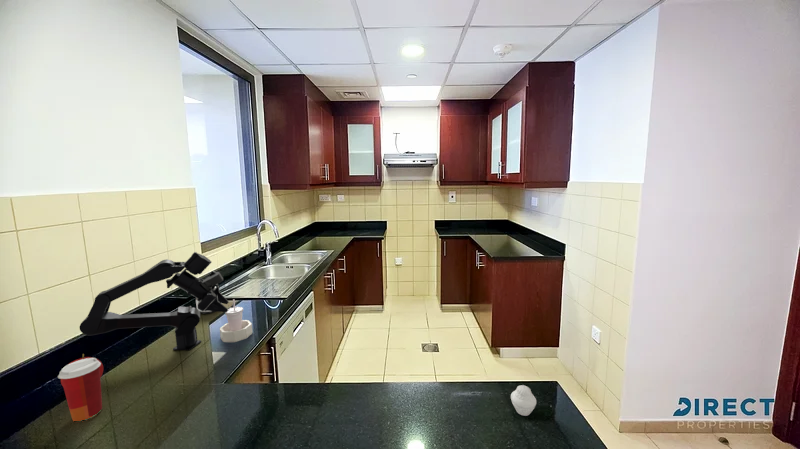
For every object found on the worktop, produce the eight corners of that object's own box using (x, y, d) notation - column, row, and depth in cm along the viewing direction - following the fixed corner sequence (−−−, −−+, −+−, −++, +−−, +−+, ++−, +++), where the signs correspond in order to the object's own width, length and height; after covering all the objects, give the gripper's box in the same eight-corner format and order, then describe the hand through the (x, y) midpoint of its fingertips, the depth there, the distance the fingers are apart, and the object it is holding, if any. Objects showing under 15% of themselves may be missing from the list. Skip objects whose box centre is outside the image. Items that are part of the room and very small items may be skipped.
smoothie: (230, 338, 120) (227, 303, 118) (224, 333, 125) (221, 299, 123) (247, 332, 125) (244, 298, 123) (241, 327, 129) (238, 295, 127)
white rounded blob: (534, 423, 77) (535, 397, 76) (508, 415, 80) (509, 389, 79) (537, 407, 82) (538, 383, 81) (512, 400, 85) (513, 376, 84)
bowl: (242, 342, 119) (241, 332, 119) (215, 342, 120) (214, 332, 119) (256, 329, 130) (255, 320, 129) (231, 329, 130) (230, 320, 130)
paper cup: (104, 400, 88) (97, 353, 86) (110, 412, 83) (102, 363, 81) (64, 416, 82) (55, 366, 80) (67, 430, 77) (58, 378, 75)
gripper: (205, 273, 109) (243, 297, 116) (209, 261, 126) (242, 283, 132) (180, 299, 107) (220, 322, 113) (187, 283, 123) (222, 305, 130)
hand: (227, 306), depth 122 cm, fingers open, 9 cm apart
